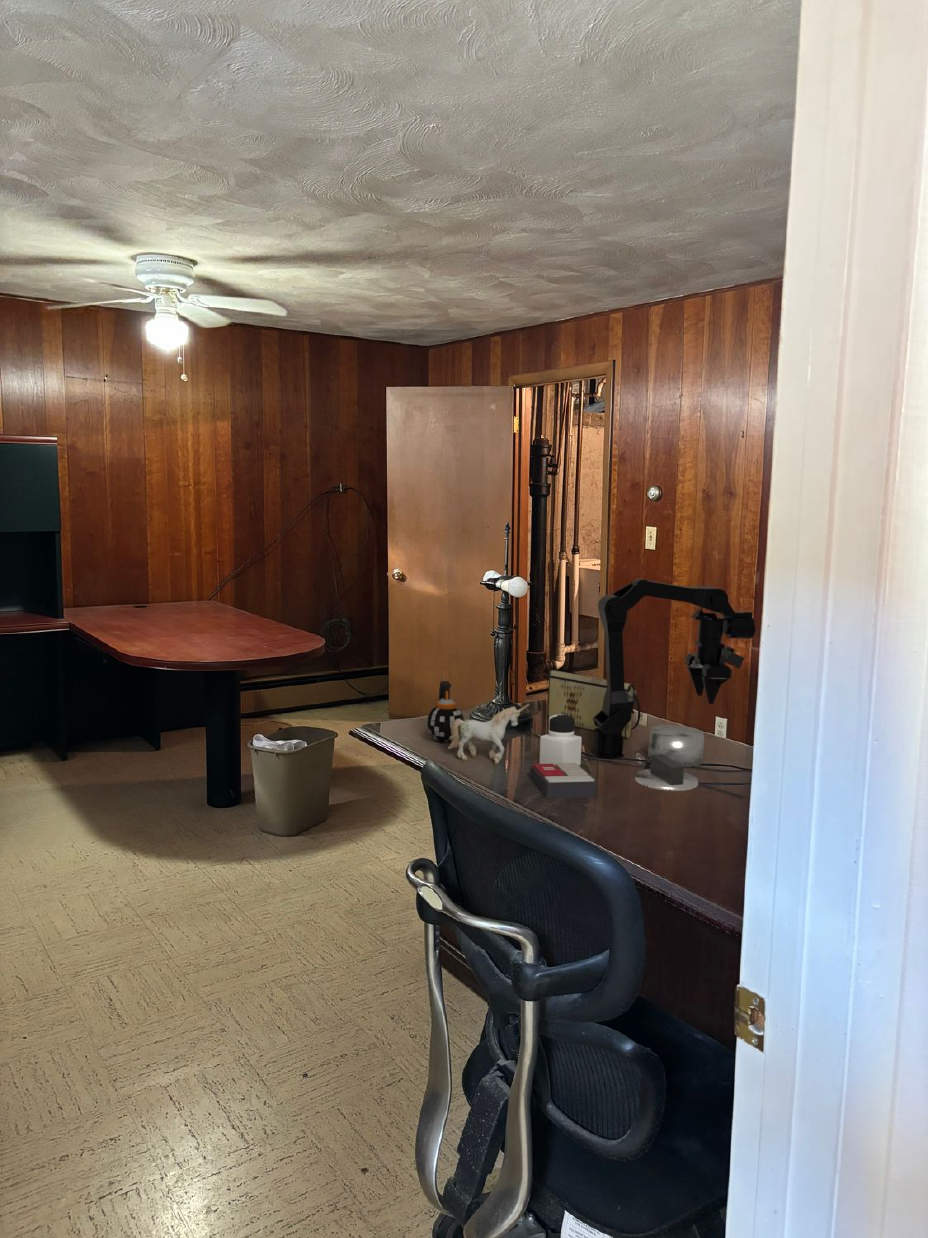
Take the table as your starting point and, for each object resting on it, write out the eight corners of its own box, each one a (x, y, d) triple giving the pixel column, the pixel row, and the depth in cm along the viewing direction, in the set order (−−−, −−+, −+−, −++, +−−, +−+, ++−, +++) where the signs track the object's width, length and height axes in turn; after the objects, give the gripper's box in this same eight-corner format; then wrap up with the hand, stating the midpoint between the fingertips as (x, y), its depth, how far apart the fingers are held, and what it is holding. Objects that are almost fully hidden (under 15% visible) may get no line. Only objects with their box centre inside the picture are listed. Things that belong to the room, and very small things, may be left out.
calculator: (576, 761, 203) (597, 778, 189) (576, 780, 204) (597, 798, 189) (530, 762, 202) (547, 779, 187) (529, 781, 202) (546, 799, 187)
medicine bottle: (581, 765, 211) (583, 716, 210) (562, 772, 206) (565, 721, 205) (556, 759, 216) (558, 711, 215) (538, 765, 211) (540, 715, 209)
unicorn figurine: (529, 766, 210) (531, 710, 208) (446, 764, 210) (448, 708, 208) (527, 757, 217) (529, 703, 215) (447, 755, 217) (448, 701, 215)
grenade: (423, 734, 235) (425, 679, 233) (459, 734, 237) (460, 678, 235) (429, 746, 224) (430, 688, 222) (466, 745, 226) (468, 687, 224)
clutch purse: (644, 736, 240) (647, 681, 238) (631, 741, 235) (633, 685, 233) (554, 716, 259) (556, 666, 257) (539, 721, 254) (541, 669, 252)
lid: (709, 790, 197) (711, 768, 196) (651, 794, 193) (652, 771, 193) (679, 771, 210) (680, 750, 210) (624, 774, 207) (625, 753, 206)
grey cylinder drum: (662, 768, 211) (664, 739, 210) (639, 753, 223) (640, 726, 222) (712, 766, 214) (714, 737, 213) (686, 751, 226) (687, 724, 225)
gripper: (755, 645, 211) (750, 709, 213) (729, 633, 230) (724, 692, 232) (709, 643, 211) (704, 708, 213) (686, 631, 229) (682, 691, 231)
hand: (705, 699), depth 222 cm, fingers open, 9 cm apart
